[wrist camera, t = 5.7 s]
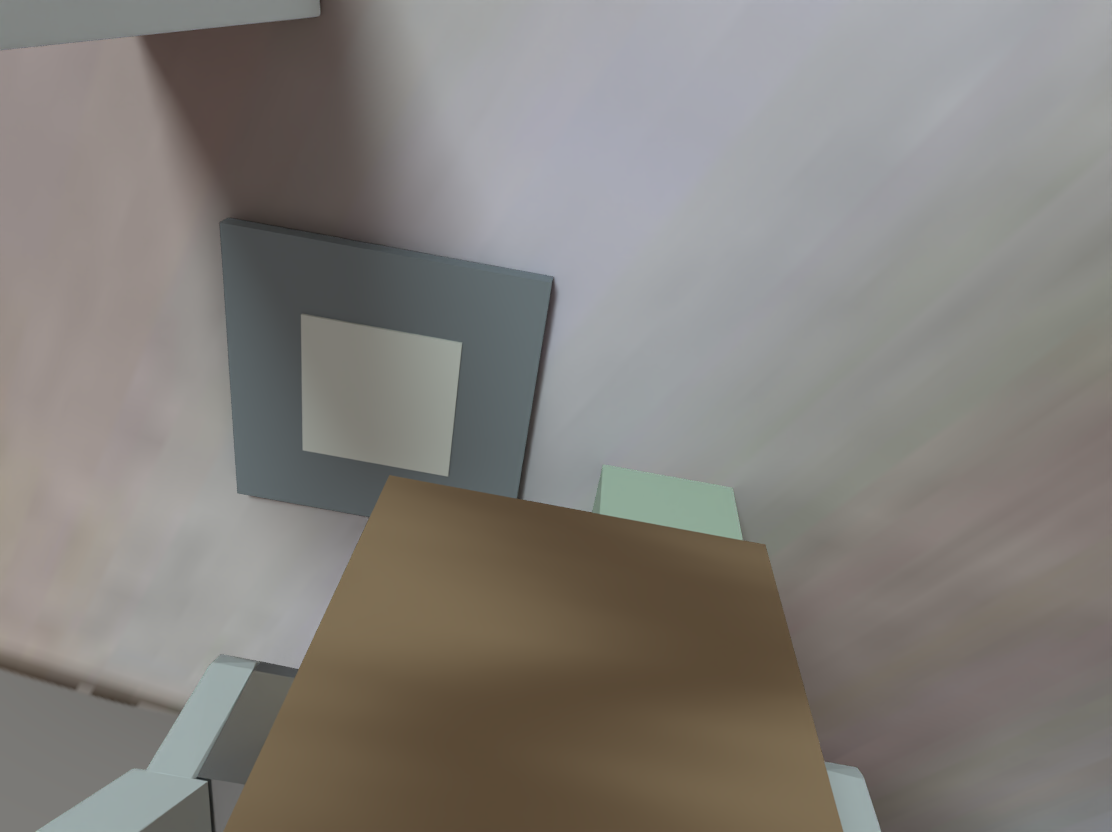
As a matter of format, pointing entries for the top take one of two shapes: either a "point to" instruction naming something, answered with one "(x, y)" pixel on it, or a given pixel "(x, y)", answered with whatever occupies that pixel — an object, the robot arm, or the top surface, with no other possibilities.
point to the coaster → (375, 367)
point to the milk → (133, 18)
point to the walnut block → (542, 682)
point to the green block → (667, 501)
